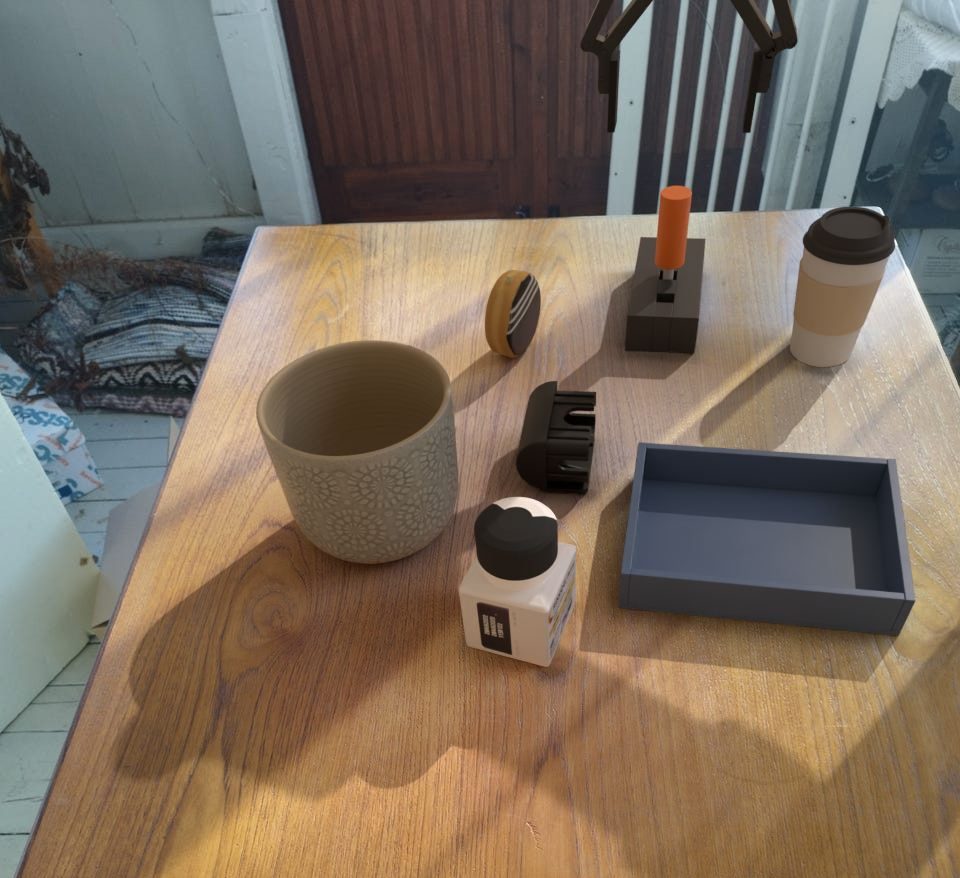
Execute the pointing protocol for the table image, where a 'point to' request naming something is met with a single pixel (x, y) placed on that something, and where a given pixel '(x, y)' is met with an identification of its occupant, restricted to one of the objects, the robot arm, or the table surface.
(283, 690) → the table surface
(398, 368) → the planter
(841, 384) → the table surface
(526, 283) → the doughnut
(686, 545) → the bin
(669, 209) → the screwdriver
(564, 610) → the container
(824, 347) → the coffee cup
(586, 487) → the end cap
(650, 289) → the holder
